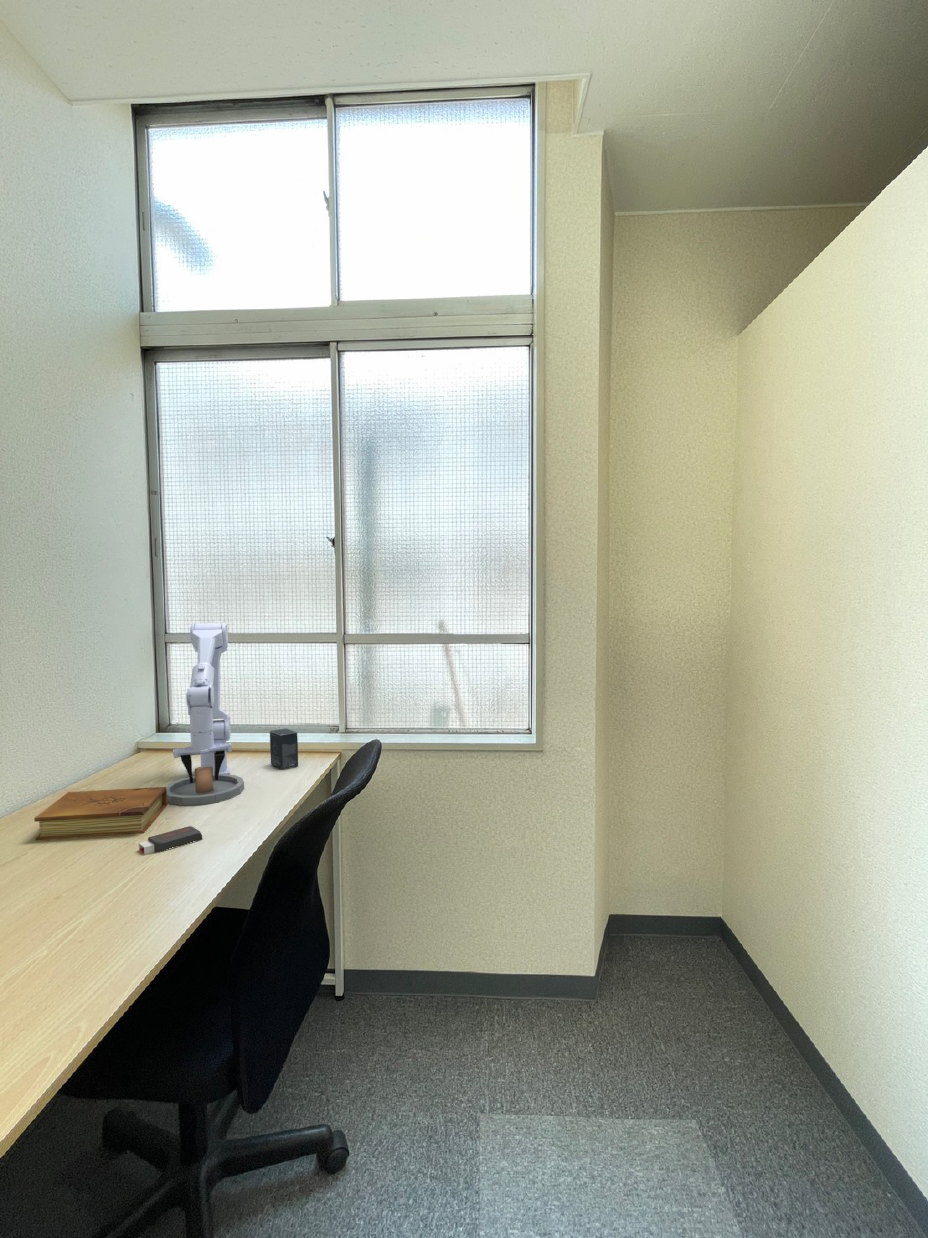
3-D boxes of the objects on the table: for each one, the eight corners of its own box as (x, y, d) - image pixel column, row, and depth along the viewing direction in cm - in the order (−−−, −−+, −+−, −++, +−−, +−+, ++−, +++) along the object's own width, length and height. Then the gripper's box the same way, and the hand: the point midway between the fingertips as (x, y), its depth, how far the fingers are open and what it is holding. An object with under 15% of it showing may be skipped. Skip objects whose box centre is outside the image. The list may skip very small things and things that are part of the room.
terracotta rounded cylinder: (195, 789, 186) (194, 767, 185) (212, 786, 188) (211, 765, 187) (196, 794, 182) (195, 771, 181) (214, 791, 184) (213, 769, 183)
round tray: (163, 787, 190) (162, 780, 190) (238, 777, 198) (238, 770, 198) (164, 810, 172) (164, 802, 172) (248, 797, 180) (247, 790, 180)
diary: (167, 808, 175) (166, 785, 175) (144, 836, 157) (143, 811, 156) (70, 812, 172) (69, 790, 172) (35, 842, 154) (34, 816, 153)
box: (298, 766, 208) (297, 732, 207) (281, 770, 205) (280, 735, 204) (287, 761, 214) (286, 727, 213) (270, 764, 211) (269, 730, 210)
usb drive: (202, 841, 153) (202, 829, 152) (146, 857, 144) (145, 845, 144) (192, 835, 156) (192, 823, 156) (137, 850, 148) (136, 838, 148)
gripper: (172, 737, 177) (175, 788, 178) (232, 730, 183) (234, 780, 184) (171, 731, 183) (174, 781, 184) (229, 725, 189) (231, 773, 190)
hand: (204, 780), depth 185 cm, fingers open, 6 cm apart
